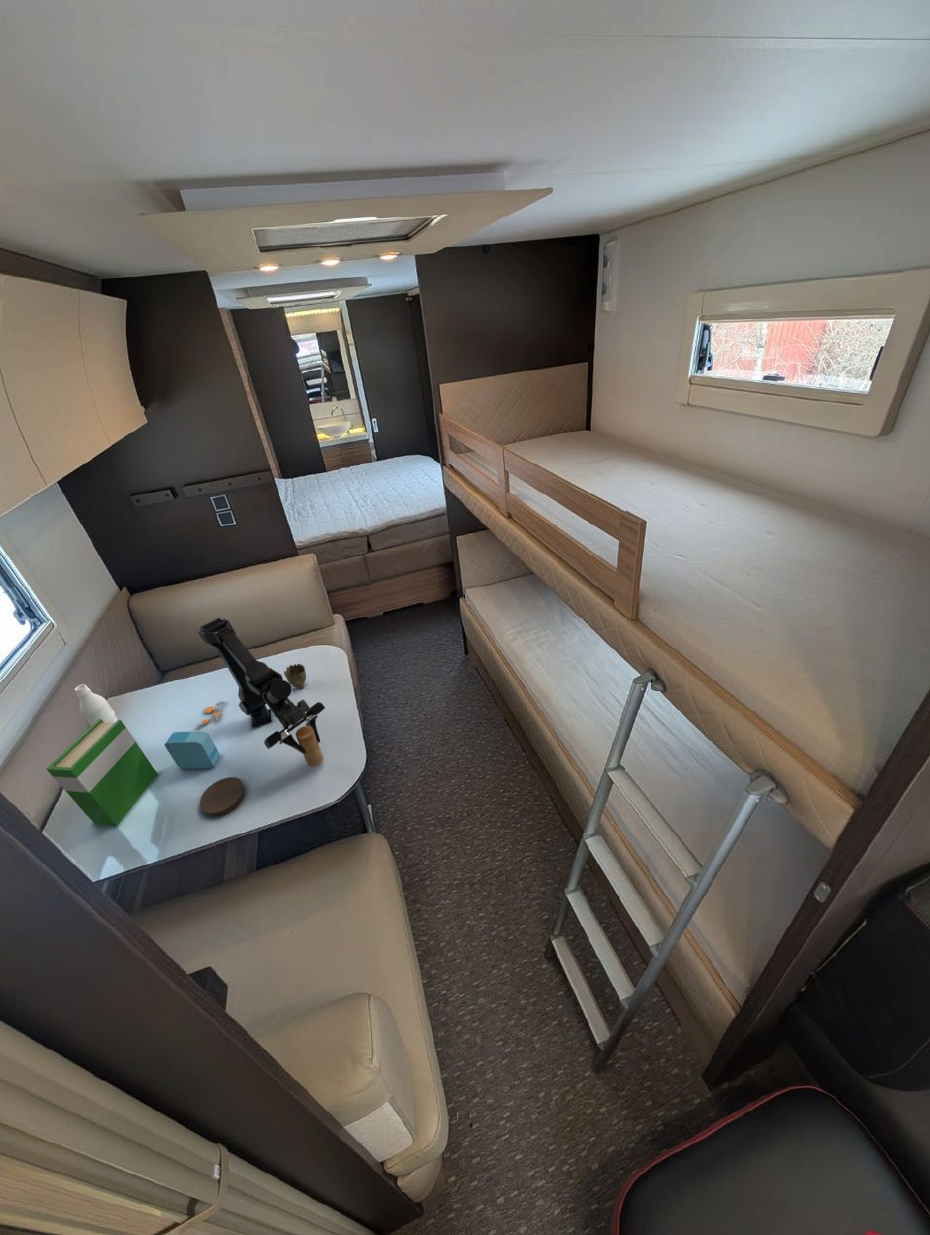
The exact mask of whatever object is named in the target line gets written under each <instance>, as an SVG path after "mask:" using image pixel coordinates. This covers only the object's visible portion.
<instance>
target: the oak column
mask: <svg viewBox="0 0 930 1235" xmlns="http://www.w3.org/2000/svg"><path fill="white" fill-rule="evenodd" d="M295 737H296V741H297V743H298V744H299V745H300V746H301V747H302V748H303V750H304V751H305V754H303V753H302V755H303V757H304V759H305V762H306V764H307V766H309V767H311V768H316V767H318V766H320V765H321V764H322V763H323V761H324V754H323V752H322V748H321V747H320V745H319V744H320V743H318V741H317V739H316V736H315V733H314V731H313V728H312V727H311V726H306V725H304V726H303V725H302V726H300V727H299V728H298V729H297V730H296V731H295Z"/></svg>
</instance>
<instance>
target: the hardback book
mask: <svg viewBox="0 0 930 1235" xmlns="http://www.w3.org/2000/svg"><path fill="white" fill-rule="evenodd" d="M46 771H47V773H49V774H50V775H51V777H52V778H53V779H54V780H55V781H56V782H57V783H58V784H59V785H60V787H61V789H63V790H64V791H65V792H66V794H68V796H69V797H70V798H71V799H72V801H74V803H75V804H76V805H77V806H78V807H79V808H80V809H81V811H82V812H83V813H84V814H85V816H87V817H88V819H89V820H90V821H91V822H92V823H93V824H94V825H99V826H100V825H101V826H102V825H103V826H113V827H117V826H118V825H119V824H120V823H121V822H122V820H123V819H124V818H125V816H126V815H128V813H129V812H130V810H131V809H132V808H133V807H134V805H135V804H136V803H137V802H138V800H140V798H141V796H142V795H143V794H144V793H145V791H147V789H148V788H149V787H150V785H151V784H152V783H153V781H154V780H156V778H157V777H158V776H159V773H158V772H157V771H156V769H155V767H154V766H153V765H152V763H151V762H150V760H149V758H147V756H146V754H145V753H144V751H143V750H142V748H141V747H140V746H139V744H138V743H137V741H136V740H135V739H134V737H133V736H132V734H131V732H130V731H129V730H128V728H127V727H126V725H125V723H124V722H123V721H122V719H117V721H116V722H115V723H104V722H103V721H102V719H98V720H97V721H96V722H95V723H94V724H93V725H92V726H91V725H90V727H88V728H87V729H86V730H85V731H84V732H83V733H82V734H81V735H80V736H79V737H77V739H76V740H75V741H74V742H72V743H71V744H70V746H68V747H67V749H65V750H64V751H63V752H62V753H61V754H60V755H59V756H58V757H57V758H56V759H55V760H54V761H53V762H52V763H51V764H50V765H49V766H48V767H47V768H46Z"/></svg>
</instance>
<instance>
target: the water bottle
mask: <svg viewBox="0 0 930 1235" xmlns="http://www.w3.org/2000/svg"><path fill="white" fill-rule="evenodd" d="M74 691H75V692H76V695H77V696H78V697H79V710H80V713H81V714H82V715H83V716H84V718H85V719H86V720H87V722H88V723H89V726H90V727H91V726H92V725H93V724H94V723H95V722H96V721H97V720H98V719H102V721H103V722H104V723H115V722H116V721H117V720H118V717H117V716H116V712H115V711H114V710H113V708H112V707H111V706H110V704H109V702H108V700H107V699H106V698H105V697H103V696H101V695H99V694H96V693H94V692H92V691H91V688H89V686H87V684H86V683H81V684H79V685H77V686H76V687H75V688H74Z"/></svg>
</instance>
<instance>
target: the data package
mask: <svg viewBox="0 0 930 1235" xmlns="http://www.w3.org/2000/svg"><path fill="white" fill-rule="evenodd" d="M164 748H165V749H166V750H167V752H168V753H169V755H170V756H171V758H172V760H173V761H174V763H175V764H176V766H177V767H178V768H179V769H183V770H185V769H187V770H188V769H212V768H214V767H215V765H216V763H217V762H218V760H219V758H220V756H221V754H220V752H219V750H218V748H217V746H216V744H215V742H214V741H213V739H212V737H211V735H210V734H209V733H208V732H207V731H204V730H200V731H198V730H197V731H174V732H172V733H171V735H170V736H169V737H168V739H167V740H166V742H165V743H164Z"/></svg>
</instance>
